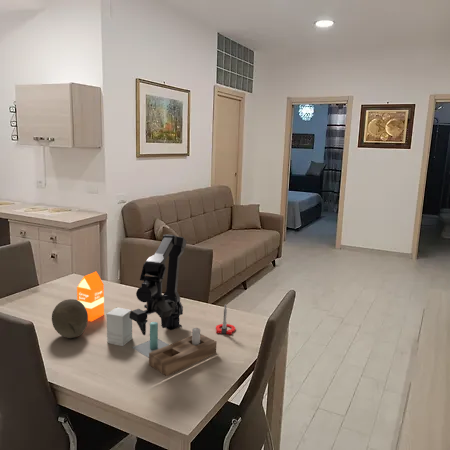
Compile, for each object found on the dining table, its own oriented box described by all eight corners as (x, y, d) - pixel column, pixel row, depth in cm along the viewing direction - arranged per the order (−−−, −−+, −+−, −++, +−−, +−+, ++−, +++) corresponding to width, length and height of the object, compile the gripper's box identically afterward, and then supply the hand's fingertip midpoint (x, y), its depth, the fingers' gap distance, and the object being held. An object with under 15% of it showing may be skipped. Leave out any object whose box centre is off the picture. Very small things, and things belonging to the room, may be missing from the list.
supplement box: (132, 339, 171) (132, 309, 169) (122, 347, 165) (122, 316, 162) (117, 335, 174) (116, 306, 171) (106, 343, 167) (105, 313, 164)
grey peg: (190, 354, 161) (190, 329, 159) (195, 351, 163) (196, 327, 161) (195, 357, 159) (196, 332, 157) (201, 354, 161) (201, 329, 159)
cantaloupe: (95, 331, 177) (94, 297, 174) (76, 346, 164) (75, 309, 161) (65, 326, 180) (63, 293, 177) (44, 341, 167) (42, 305, 164)
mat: (131, 348, 164) (131, 347, 164) (156, 338, 172) (156, 337, 172) (150, 359, 156) (150, 358, 156) (175, 349, 164) (175, 348, 164)
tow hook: (217, 325, 188) (213, 333, 179) (219, 297, 186) (215, 304, 177) (236, 327, 187) (233, 335, 178) (238, 299, 185) (235, 306, 176)
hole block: (149, 365, 152) (149, 353, 151) (198, 344, 169) (198, 332, 168) (166, 377, 145) (167, 363, 144) (216, 353, 162) (216, 341, 161)
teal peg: (148, 347, 164) (148, 323, 162) (154, 345, 166) (154, 321, 164) (153, 350, 162) (153, 325, 160) (159, 347, 164) (159, 323, 162)
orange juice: (77, 318, 189) (76, 275, 185) (90, 311, 197) (89, 269, 193) (91, 321, 186) (90, 278, 182) (104, 314, 194) (103, 272, 190)
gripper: (146, 305, 148) (146, 346, 151) (187, 292, 161) (186, 331, 164) (128, 296, 155) (128, 336, 158) (168, 285, 169) (167, 321, 172)
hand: (154, 331), depth 163 cm, fingers open, 9 cm apart
